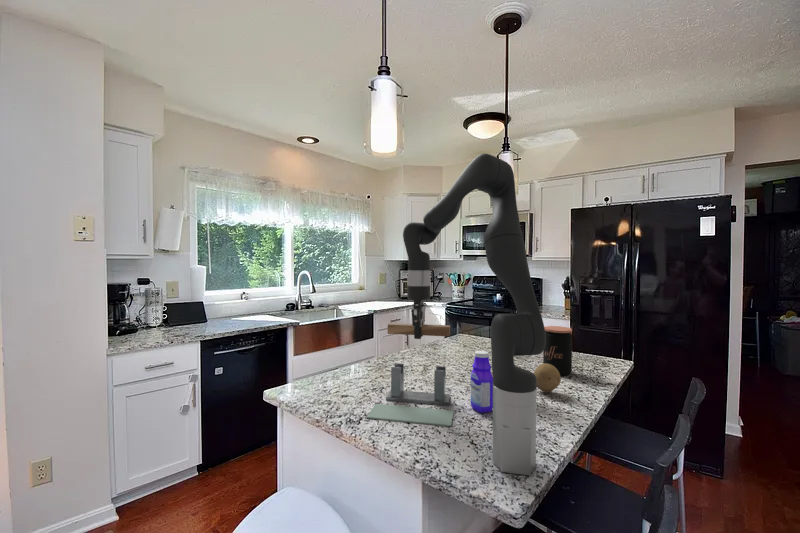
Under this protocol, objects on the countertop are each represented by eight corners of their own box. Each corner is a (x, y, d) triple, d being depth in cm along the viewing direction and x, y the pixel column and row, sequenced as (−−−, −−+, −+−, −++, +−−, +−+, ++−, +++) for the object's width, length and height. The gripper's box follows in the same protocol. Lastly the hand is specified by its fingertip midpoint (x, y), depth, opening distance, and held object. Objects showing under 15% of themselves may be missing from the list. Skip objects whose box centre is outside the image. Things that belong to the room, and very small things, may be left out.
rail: (449, 336, 116) (449, 327, 116) (387, 333, 121) (387, 324, 121) (450, 334, 119) (450, 325, 119) (389, 332, 124) (389, 323, 124)
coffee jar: (537, 370, 152) (537, 327, 152) (556, 367, 157) (556, 325, 157) (558, 378, 143) (558, 331, 142) (577, 374, 147) (578, 329, 147)
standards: (448, 405, 115) (448, 372, 115) (385, 400, 119) (386, 367, 119) (450, 397, 122) (450, 366, 122) (391, 392, 126) (391, 362, 126)
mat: (451, 426, 100) (451, 425, 100) (366, 418, 105) (366, 416, 105) (453, 412, 110) (453, 410, 110) (376, 404, 115) (376, 403, 115)
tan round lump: (564, 398, 122) (565, 368, 122) (537, 397, 122) (537, 367, 122) (555, 388, 131) (555, 360, 131) (529, 388, 131) (529, 360, 131)
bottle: (466, 406, 115) (467, 350, 114) (482, 403, 117) (483, 348, 116) (480, 415, 108) (480, 355, 108) (496, 412, 110) (497, 354, 110)
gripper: (427, 285, 112) (427, 342, 112) (433, 283, 126) (432, 334, 126) (403, 285, 114) (402, 341, 114) (411, 283, 128) (411, 333, 128)
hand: (418, 337), depth 120 cm, fingers closed on rail, 3 cm apart
